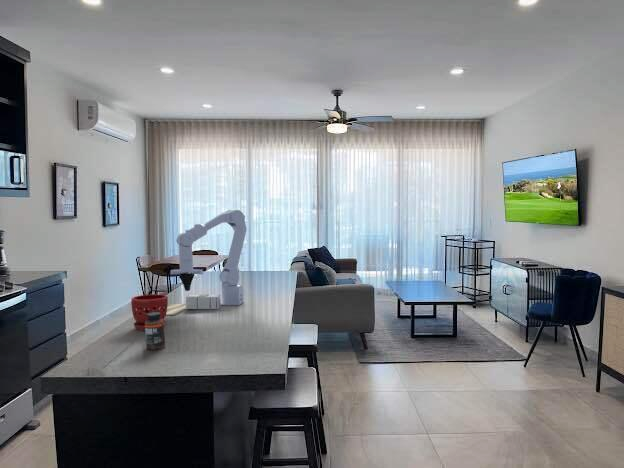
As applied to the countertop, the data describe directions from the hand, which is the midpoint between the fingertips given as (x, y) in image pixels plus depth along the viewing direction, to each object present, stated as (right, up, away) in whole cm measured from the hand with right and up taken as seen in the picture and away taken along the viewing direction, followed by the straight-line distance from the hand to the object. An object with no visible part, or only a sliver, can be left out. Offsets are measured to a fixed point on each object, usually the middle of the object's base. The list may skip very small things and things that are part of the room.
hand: (187, 290), depth 202 cm
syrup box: (-1, -5, +3) cm, 6 cm away
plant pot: (-7, -11, -26) cm, 30 cm away
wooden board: (-7, -9, +2) cm, 12 cm away
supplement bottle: (+4, -12, -53) cm, 55 cm away
